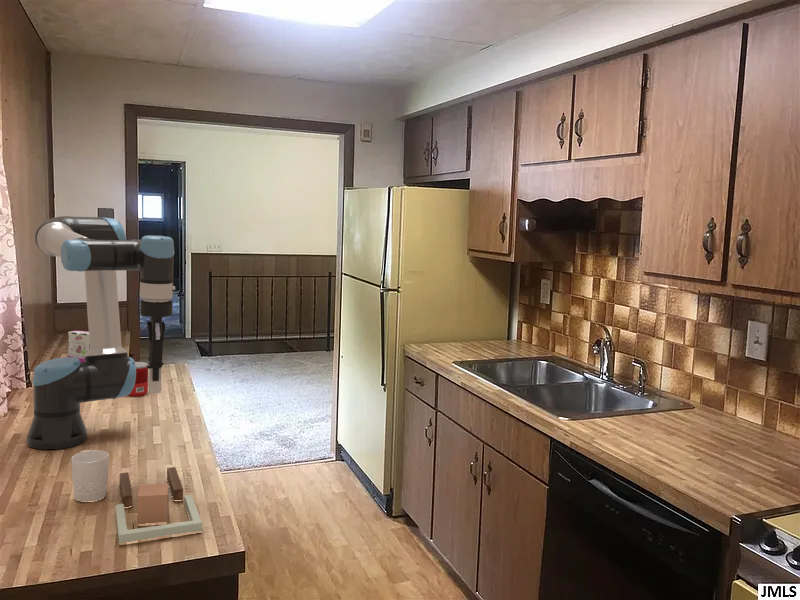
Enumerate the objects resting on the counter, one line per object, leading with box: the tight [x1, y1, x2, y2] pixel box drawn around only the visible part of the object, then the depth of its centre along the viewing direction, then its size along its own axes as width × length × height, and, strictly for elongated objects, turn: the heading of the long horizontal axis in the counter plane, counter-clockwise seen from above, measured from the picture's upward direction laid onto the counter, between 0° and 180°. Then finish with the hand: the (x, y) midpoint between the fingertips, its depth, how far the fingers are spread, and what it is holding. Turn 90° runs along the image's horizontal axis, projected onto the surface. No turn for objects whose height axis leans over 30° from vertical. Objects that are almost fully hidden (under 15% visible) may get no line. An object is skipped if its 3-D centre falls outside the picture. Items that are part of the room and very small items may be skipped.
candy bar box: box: [67, 329, 90, 362], centre depth 261 cm, size 11×5×16 cm, turn 73°
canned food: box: [126, 361, 149, 398], centre depth 236 cm, size 8×8×11 cm
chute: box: [119, 466, 184, 507], centre depth 157 cm, size 13×14×3 cm
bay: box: [115, 494, 203, 544], centre depth 142 cm, size 16×15×2 cm
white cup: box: [70, 449, 110, 502], centre depth 152 cm, size 8×8×10 cm
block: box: [137, 482, 170, 524], centre depth 143 cm, size 6×6×7 cm
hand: (154, 392), depth 164 cm, fingers closed
